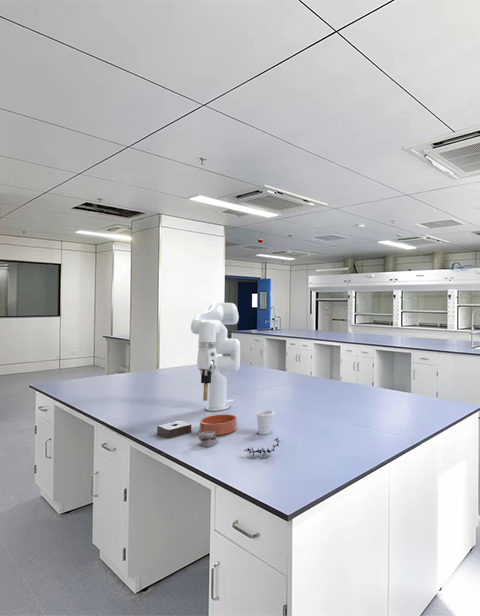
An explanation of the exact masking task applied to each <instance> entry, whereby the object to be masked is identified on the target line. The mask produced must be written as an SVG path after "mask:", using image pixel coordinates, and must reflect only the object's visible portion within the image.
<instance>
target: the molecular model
mask: <svg viewBox="0 0 480 616" xmlns="http://www.w3.org/2000/svg"><path fill="white" fill-rule="evenodd" d="M273 442H277V444H272V445H271V446H272V449H269V447H266V449H267V450H265V447H264V446H262V447H261V448H260V447H257V448H256V450H254V446H248V447H246V449H244V450H243V452H246V454H248V456H249V457H250V458H256V456H255V453H257V455H259V456H260V458H263V457H264V458H267V455H268V454H269V456H271V455H272V452H274V453H275V452H276V450H275V447H280V444H279V442H282V439H280V440H279V436H276V438H275V439H273ZM262 453H263V455H261V454H262Z"/></svg>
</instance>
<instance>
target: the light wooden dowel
mask: <svg viewBox="0 0 480 616" xmlns="http://www.w3.org/2000/svg"><path fill="white" fill-rule="evenodd" d="M204 376H205V372H204ZM202 392H203V393H202V394H203V395H202V401H205V402H206V401H208V397H209V383H208V384H204V383H203V391H202Z"/></svg>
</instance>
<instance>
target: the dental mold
mask: <svg viewBox="0 0 480 616" xmlns="http://www.w3.org/2000/svg"><path fill="white" fill-rule="evenodd" d="M213 435H214V436H213ZM198 439H199V441H200V445H199V446H202V447H205V448H211V447H213V446H214V445H215V444H217V436H216V434H215V431H205V432H201V433H200V432H199V433H198Z"/></svg>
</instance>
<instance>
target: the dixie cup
mask: <svg viewBox="0 0 480 616" xmlns="http://www.w3.org/2000/svg"><path fill="white" fill-rule="evenodd" d="M255 414H256V419H257V428H258V434H259V435H268V434H271V433H272V426H273V420H274V414H275V411H274V410H270V409H269V410H260V411H257V412H256V413H255Z"/></svg>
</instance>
